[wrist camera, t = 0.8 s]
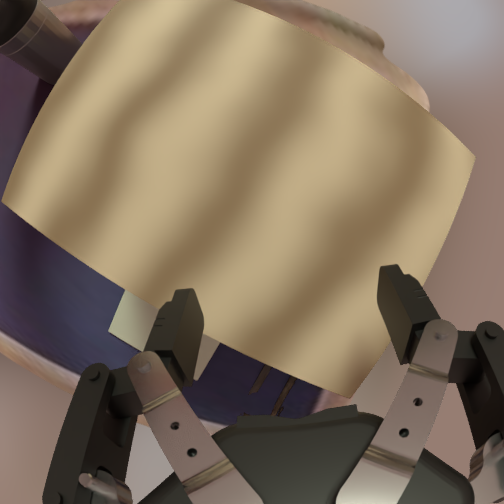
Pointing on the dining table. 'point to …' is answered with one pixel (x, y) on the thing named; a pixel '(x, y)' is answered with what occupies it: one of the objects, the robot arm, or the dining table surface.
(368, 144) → the wooden slatted crate
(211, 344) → the mat
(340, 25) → the dining table surface
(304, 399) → the dining table surface
